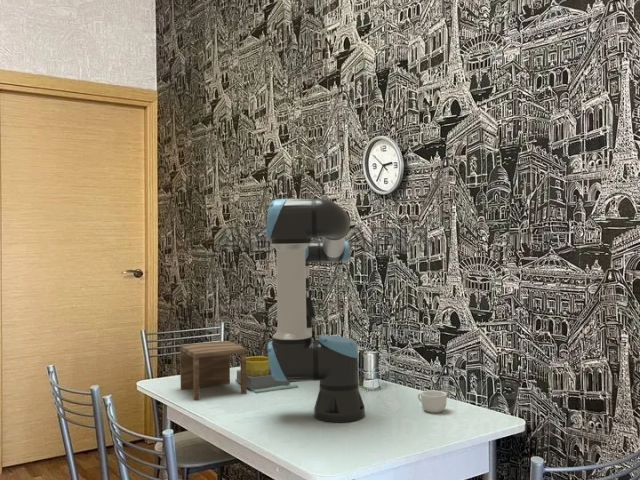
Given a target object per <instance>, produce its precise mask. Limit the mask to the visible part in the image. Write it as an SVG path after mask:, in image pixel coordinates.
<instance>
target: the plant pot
mask: <svg viewBox="0 0 640 480" xmlns="http://www.w3.org/2000/svg"><path fill="white" fill-rule="evenodd" d="M269 369H270V365H269V358H268V356H263V355H262V356H259V355H258V356H246V375H249V376H251V377H260V376H268V374H269Z"/></svg>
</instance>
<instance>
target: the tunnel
mask: <svg viewBox="0 0 640 480" xmlns="http://www.w3.org/2000/svg"><path fill="white" fill-rule="evenodd" d="M236 354H237V355H239V354H240V356H239V358H240V364H241V366H240V370H241V383H240V394H241V395H247V392H248V390H247V389H248V388H247V387H246V357H247V348H246V347H244V346H241V345H239V344H237V343H234V342H232V341H230V340H222V341H212V342H200V343H192V344H191V343H190V344H189V343H188V344H181V345H179V358H180V359H179V360H180V361H179V366H180V367H179V369H180V370H179V371H180V374H179V375H180V378H179V379H180V389H181V390H189V389H193V400H194V401H195V400H196V401H200V388H203V387H204V386H205V387H211V386H220V385H229V384H231V367H230V365H231V364H230V363H231V360H230V359H231V358H230V355H236ZM240 364H239V365H240ZM205 387H204V388H205ZM188 388H189V389H188Z"/></svg>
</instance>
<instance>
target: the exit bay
mask: <svg viewBox="0 0 640 480" xmlns="http://www.w3.org/2000/svg"><path fill="white" fill-rule="evenodd" d="M234 380H235V382H236V383H238V382H237V378H236V379H234ZM297 388H299V385H298V384H291V385H283V386H275V387H268V388H260V389H253V393H255V394H261V393H268V392H274V391H275V392H277V391H281V390H282V391H283V390H289V389H290V390H292V389H297Z"/></svg>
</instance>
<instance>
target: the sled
mask: <svg viewBox="0 0 640 480" xmlns="http://www.w3.org/2000/svg"><path fill="white" fill-rule="evenodd" d="M236 379H237V382H236V383H239V384H241V369H237V370H236ZM290 383H291V381H290V382H287V381H277V380H275V379H274V378H273V377H272V374H271V370H270V369H269V374H268V376H260V377H251V376H249V375H246V387H247V389H248V390H252V391H254V390H260V389H267V388H275V387H282V386H290Z"/></svg>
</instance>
